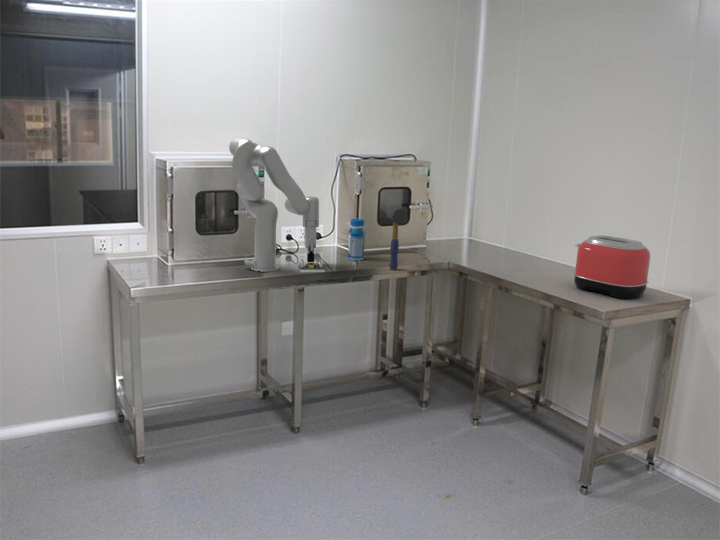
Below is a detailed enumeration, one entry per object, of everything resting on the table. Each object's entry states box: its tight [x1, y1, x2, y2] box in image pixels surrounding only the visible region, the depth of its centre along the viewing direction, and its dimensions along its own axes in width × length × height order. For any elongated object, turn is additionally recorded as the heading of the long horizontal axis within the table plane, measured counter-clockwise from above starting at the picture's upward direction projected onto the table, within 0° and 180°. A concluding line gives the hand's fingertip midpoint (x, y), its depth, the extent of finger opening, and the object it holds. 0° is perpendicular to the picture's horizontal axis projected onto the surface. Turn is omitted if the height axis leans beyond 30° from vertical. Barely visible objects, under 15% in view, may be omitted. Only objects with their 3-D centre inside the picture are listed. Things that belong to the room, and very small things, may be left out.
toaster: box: [573, 235, 651, 300], centre depth 282 cm, size 32×23×23 cm
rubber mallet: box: [385, 204, 408, 271], centre depth 307 cm, size 12×8×30 cm, turn 13°
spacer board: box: [298, 265, 326, 273], centre depth 302 cm, size 11×13×1 cm
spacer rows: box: [298, 258, 324, 270], centre depth 304 cm, size 10×8×3 cm
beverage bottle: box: [347, 218, 366, 261], centre depth 328 cm, size 8×8×20 cm
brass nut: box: [305, 262, 317, 269], centre depth 304 cm, size 5×4×2 cm
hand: (310, 261), depth 310 cm, fingers closed
